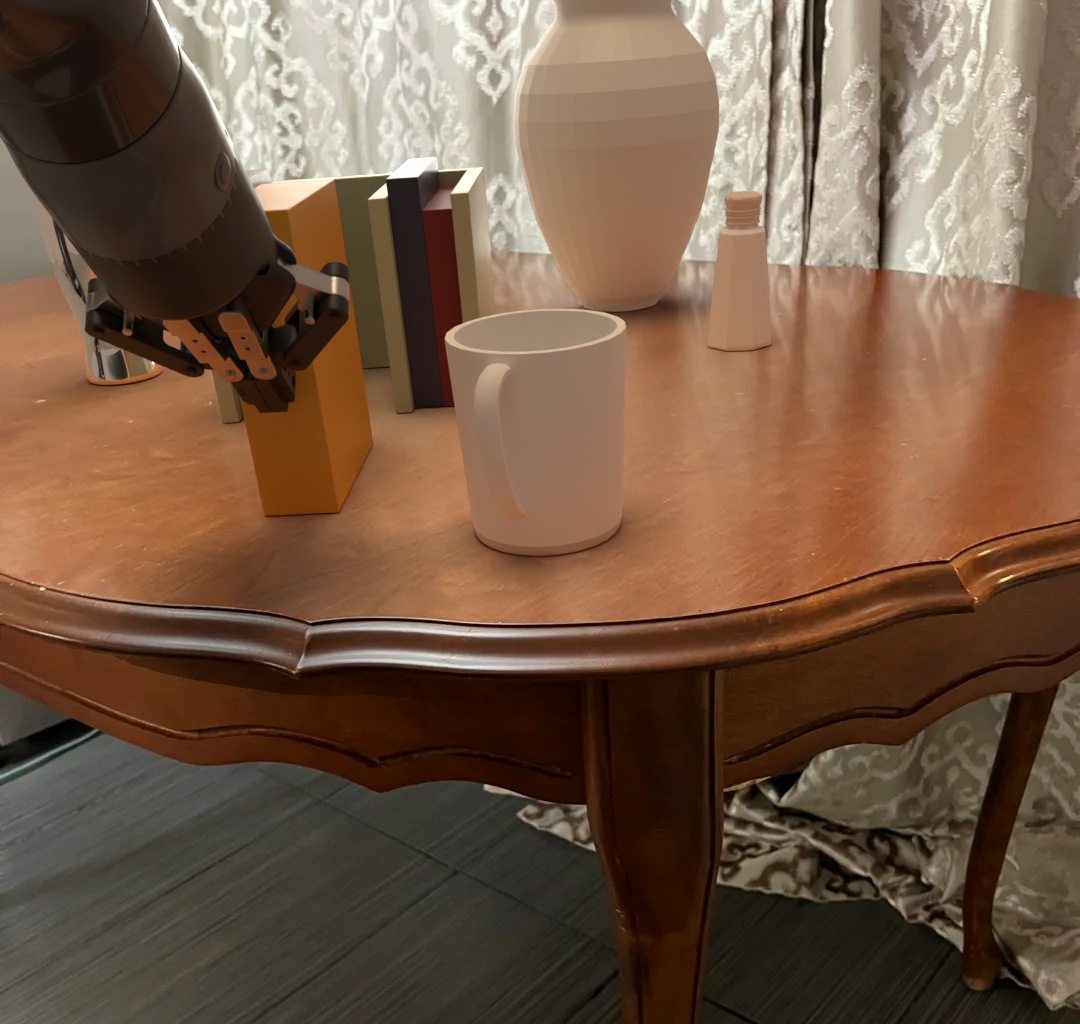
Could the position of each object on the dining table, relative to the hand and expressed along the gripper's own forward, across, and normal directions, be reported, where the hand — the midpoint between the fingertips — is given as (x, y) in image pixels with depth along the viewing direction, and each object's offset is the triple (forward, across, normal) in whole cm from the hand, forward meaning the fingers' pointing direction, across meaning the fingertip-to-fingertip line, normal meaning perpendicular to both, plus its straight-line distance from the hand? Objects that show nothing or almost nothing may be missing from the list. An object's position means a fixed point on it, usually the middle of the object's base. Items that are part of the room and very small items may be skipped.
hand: (275, 397), depth 60 cm
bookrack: (+23, 0, -14) cm, 27 cm away
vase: (+40, -20, -31) cm, 54 cm away
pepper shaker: (+29, -29, -19) cm, 45 cm away
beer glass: (+29, +22, -19) cm, 41 cm away
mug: (+2, -14, +8) cm, 16 cm away
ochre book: (+10, 0, 0) cm, 10 cm away
